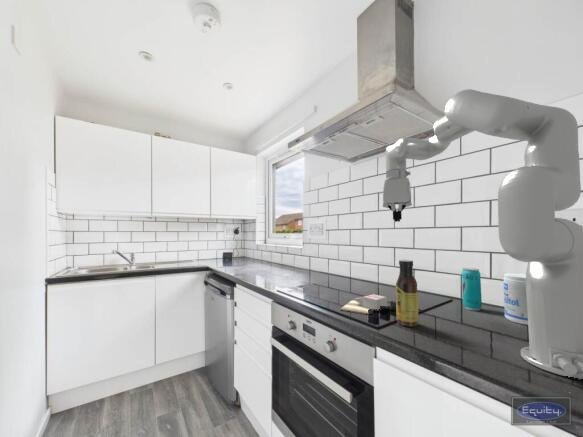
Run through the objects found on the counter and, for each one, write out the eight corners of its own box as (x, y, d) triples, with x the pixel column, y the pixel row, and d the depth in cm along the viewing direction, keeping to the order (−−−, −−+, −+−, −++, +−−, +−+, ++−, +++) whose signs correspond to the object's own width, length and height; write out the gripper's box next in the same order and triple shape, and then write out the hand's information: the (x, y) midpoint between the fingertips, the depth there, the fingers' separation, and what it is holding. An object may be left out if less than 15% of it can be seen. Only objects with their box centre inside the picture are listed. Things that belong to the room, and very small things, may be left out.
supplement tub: (497, 317, 85) (495, 273, 86) (520, 315, 87) (518, 272, 87) (528, 327, 75) (526, 278, 76) (554, 326, 77) (551, 277, 78)
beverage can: (461, 306, 98) (460, 267, 99) (479, 307, 96) (478, 268, 97) (464, 310, 93) (462, 269, 94) (483, 312, 91) (481, 270, 92)
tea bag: (376, 310, 91) (354, 304, 98) (387, 307, 95) (364, 301, 103) (376, 300, 91) (354, 294, 99) (386, 297, 95) (364, 292, 103)
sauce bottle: (397, 319, 83) (395, 258, 84) (418, 322, 80) (416, 259, 81) (395, 326, 77) (394, 260, 78) (418, 329, 74) (416, 261, 75)
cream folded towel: (370, 315, 87) (370, 313, 87) (340, 310, 93) (340, 308, 93) (379, 305, 99) (379, 303, 99) (352, 301, 105) (351, 300, 105)
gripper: (417, 175, 101) (419, 221, 100) (378, 179, 108) (379, 222, 107) (416, 171, 94) (417, 220, 93) (374, 176, 102) (375, 221, 101)
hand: (397, 221), depth 100 cm, fingers closed
